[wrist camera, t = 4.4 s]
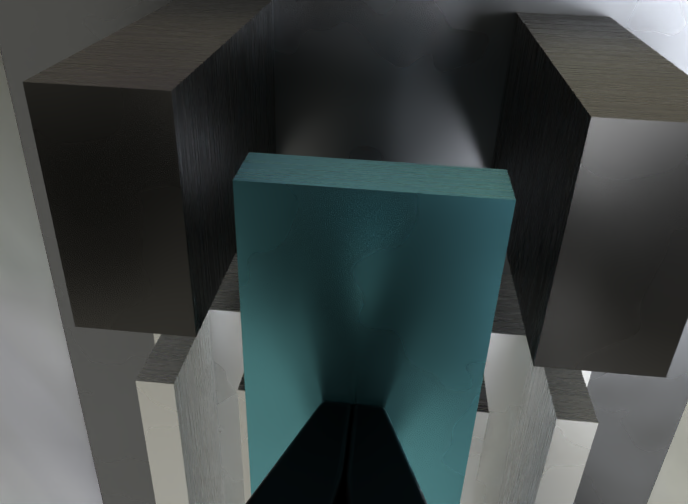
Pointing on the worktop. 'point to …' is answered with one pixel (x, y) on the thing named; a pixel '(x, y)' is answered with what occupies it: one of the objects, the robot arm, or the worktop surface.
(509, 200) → the bar
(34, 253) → the worktop surface
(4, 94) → the worktop surface
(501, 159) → the heat sink base
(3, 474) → the worktop surface
